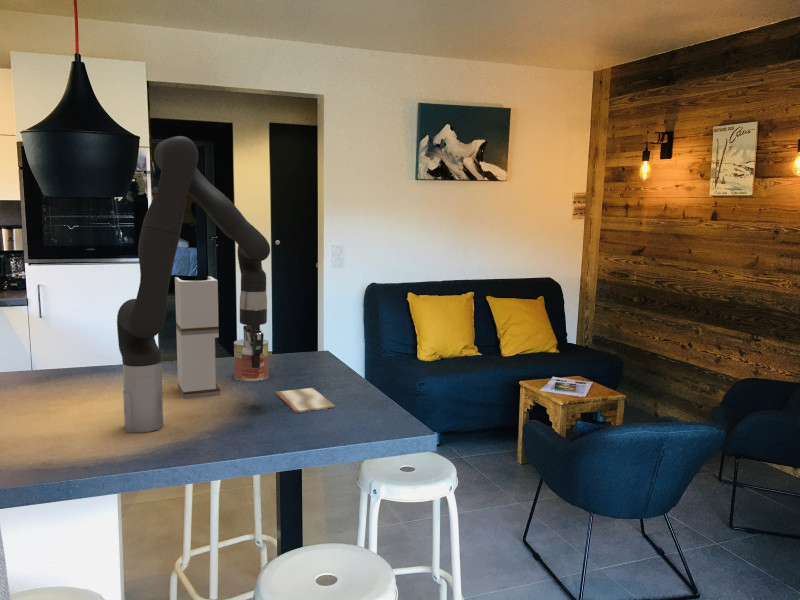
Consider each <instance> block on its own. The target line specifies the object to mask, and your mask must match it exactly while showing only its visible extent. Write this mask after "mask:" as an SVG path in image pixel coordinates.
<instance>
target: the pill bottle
mask: <svg viewBox="0 0 800 600" xmlns="http://www.w3.org/2000/svg"><path fill="white" fill-rule="evenodd" d="M252 343H253V342H252ZM245 346H246V347H245V348H244V349H243V350H242V379H244V380H247V381H246V382H258V381H257V380H260V381H262V380H261V379H263V378H264V350H263V354H261V355H260V367H259V368H252V354H251V347H249V341H248V340H245ZM256 350H258V347H256Z"/></svg>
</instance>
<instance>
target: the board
mask: <svg viewBox="0 0 800 600" xmlns="http://www.w3.org/2000/svg"><path fill="white" fill-rule="evenodd" d="M274 393H275V395H276V396H277V397H278V398H279V399H280V400H281V401H282V402H283V403H284V404H285V405H286V406H287V407H288V408H289V409H290V410H291V411H293V413H295V414H297V413H298V412H299V413H305V412H306V411H307V412H312V411H313V410H315V411H322V410H329V409H328V408H330V409H336V405H335V404H334V403H332V402H331V401H330V400H329V399H328V398H326V397H325V396H324V395H322V394H321V393H320V392H319V391H317V390H316V389H315V388H314V387H308V388H299V389H289V390H281V391H279V390H277V391H275V392H274ZM321 409H322V410H321ZM313 412H314V411H313Z"/></svg>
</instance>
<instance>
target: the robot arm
mask: <svg viewBox="0 0 800 600" xmlns="http://www.w3.org/2000/svg"><path fill="white" fill-rule="evenodd" d="M153 155H154V161H155V163H156V165H157V167H158V168H159V169H160V175H159V181H158V184H157V185H158V186H157V189H156V191H155V195H154V196H153V198H152V200H151V203H150V205H149V207H148V209H147V211H146V214H145V216H144V219H143V222H142V225H141V230H140V234H139V240H138V246H137V252H138V262H139V263H138V264H139V272H140V278H139V279H140V281H139V284H138V285H139V286H138V290H137V295H136V298H131V299H128V300H127V301H125V302H123V304H122V305H120V307H119V309H118V311H117V316H116V317H117V318H116V327H117V329H116V330H117V342H118V350H119V352H120V355H121V358H122V361H121V363H122V379H123V383H122V384H123V391H122V392H123V394H122V395H123V419H124V421H123V422H124V428H125V429H124V430H125V433H148V432H149V433H150V432H154V431H157V430H160V429H161V428H162V427H164V404H163V403H164V401H163V400H164V399H163V398H164V397H163V396H164V395H163V373H162V372H163V370H162V368H163V367H162V366H163V365H162V351H161V350H160V348H159V346H158V345H157V342H156V338H155V337H156V336H157V335H158V334H159V333H160V332H161V330H162V329H163V327H164V324H165V321H166V316H167V306H168V295H169V287H170V282H171V278H172V273H173V268H174V264H175V259H176V254H177V250H178V247H179V241H180V239H181V238H180V237H181V231H182V226H183V221H184V216H185V210H186V203H187V199H188V198H187V197H188V195H190V197H191V198H192V199H193V200H194V201H195V202H196V203H197V204H198V205H199V206H200V207H201V208H202V210H204V212H205V213H206V214H207V215H208V217H209V218H210V219H211V220H212V221H213V222H214V223H215V225H216V226H217V227H218V228H219V229H220V231H221V232H222V233H224V235H225V236H227V237H228V238H230V239H231V240H233V241H234V242H235V244H237V250H236V251H237V260H238V265H239V266H238V267H239V271H240V295H239V323H240V324H241V325H243V327H242V328H243V339H244V346H245V340H248V341H249V347H251V354H252V368H259V367H260V355H261V354H263V339H264V335H265V334H264V332H262V330H261V325H265V324H267V321H268V294H267V273H266V272H265V271H264V269H263V265H262V262H263V261H265V260H266V259H267V258H268V257H269V256H270V254H271V246H270V243H269V241H268V240H267V238H266V237H265V236H264V235H263V234H262V233H261V232H260V231H259V230H258V228H256V227H255V226H254V225H252V224H251V223H250V222H249V221H248V220H247V219H246V217H245V216H244V215H243V214H242V212H241V211H240V210H239V209H238V208H237V207H236V205H235V203H233V202H232V201H231V200H230V198H228V197H227V196H226V195H225V194H224V193H222V192H221V191H220V190H219V189H218V188H216V187H215V186H214V185H213V184H212V183H211V182H209V180H208V179H206V177H205V176H204V175H203V173H201V172H200V170H199V169H198V167H197V166H198V162H199V151H198V148H197V145H196V144H195V143H194V141H192V140H191V139H190V138H188V137H186V136H182V135H179V136H178V135H177V136H171V137H170V138H169V137H168V138H167V139H164V140H162V141H160V142H159V143H158V144H156V147H155V149H154V152H153ZM252 342H253V343H252ZM245 347H246V346H245ZM256 347H258V350H256Z"/></svg>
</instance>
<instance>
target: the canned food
mask: <svg viewBox="0 0 800 600" xmlns="http://www.w3.org/2000/svg"><path fill="white" fill-rule="evenodd" d="M244 348H245V346H244V338H242V339H237V340H235V341H233V352H234V353H233V355H234V357H233V359H234V361H233V362H234V377H233V378H234V379H235V380H236V379H237V380H236V381H239V380H240V382H248V381H247V380H244V379H242V350H243V349H244ZM263 350H264V378H263V379H261V380H260V381H264V380H267V379H268V378H269V376H270V375H269V341H268V340H267V339H264V338H263ZM260 381H259V380H257V381H256V382H260Z"/></svg>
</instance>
